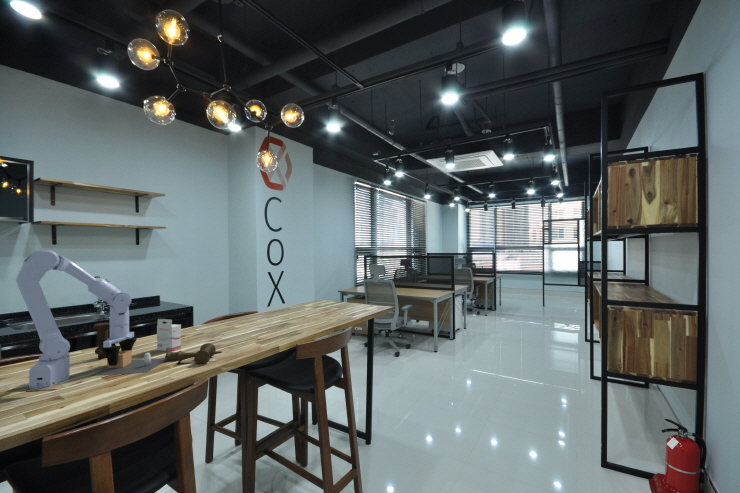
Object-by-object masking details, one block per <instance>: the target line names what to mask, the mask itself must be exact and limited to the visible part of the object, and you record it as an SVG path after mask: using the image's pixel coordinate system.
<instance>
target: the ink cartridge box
mask: <svg viewBox="0 0 740 493" xmlns="http://www.w3.org/2000/svg"><path fill="white" fill-rule="evenodd" d="M164 322H165V323H164ZM181 349H182V324H175V323H174V324H173V319H168V318H167V319H166V318H158V319H157V325H156V351H162V352H163V351H164V352H168V351H171V352H175V351H178V350H181Z"/></svg>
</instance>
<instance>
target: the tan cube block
mask: <svg viewBox="0 0 740 493" xmlns="http://www.w3.org/2000/svg"><path fill="white" fill-rule="evenodd" d="M131 360H132V351H121V350H119V354H118V361H117V365H113V366H109V363H108V360H107V359H106V367H107V368H119V367H124V366H126V365H128V364H130V363H132V361H131Z"/></svg>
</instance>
